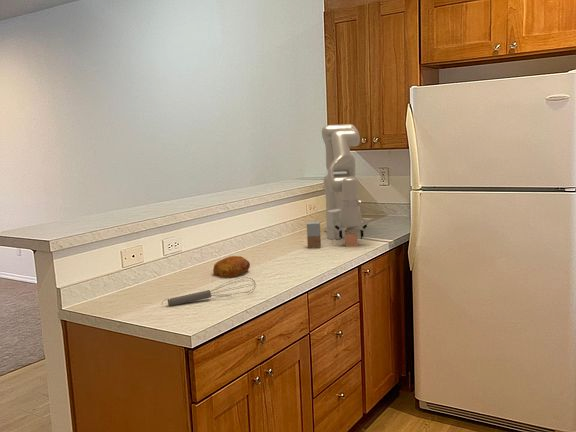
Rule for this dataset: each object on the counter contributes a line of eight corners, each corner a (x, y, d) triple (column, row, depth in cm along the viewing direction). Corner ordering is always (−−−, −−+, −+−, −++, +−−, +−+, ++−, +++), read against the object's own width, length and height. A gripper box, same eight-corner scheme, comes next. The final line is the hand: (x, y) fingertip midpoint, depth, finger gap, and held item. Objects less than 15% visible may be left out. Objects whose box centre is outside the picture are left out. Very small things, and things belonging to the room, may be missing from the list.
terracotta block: (345, 244, 285) (344, 232, 284) (357, 244, 284) (357, 232, 283) (345, 246, 279) (344, 234, 278) (357, 246, 278) (357, 234, 277)
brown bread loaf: (255, 275, 241) (256, 256, 240) (233, 279, 227) (234, 259, 227) (227, 271, 248) (228, 253, 248) (204, 275, 235) (205, 255, 234)
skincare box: (337, 236, 306) (336, 208, 303) (345, 237, 301) (345, 209, 299) (326, 238, 300) (325, 210, 298) (334, 240, 296) (333, 211, 294)
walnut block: (308, 245, 285) (308, 233, 284) (320, 245, 284) (320, 233, 283) (307, 248, 279) (307, 236, 278) (320, 248, 278) (319, 235, 277)
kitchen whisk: (160, 305, 199) (159, 287, 198) (253, 291, 211) (252, 274, 210) (163, 310, 193) (162, 291, 192) (259, 295, 205) (258, 278, 204)
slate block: (308, 233, 284) (307, 221, 283) (320, 233, 283) (319, 221, 282) (307, 236, 278) (306, 224, 277) (319, 235, 277) (319, 223, 276)
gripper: (368, 202, 281) (369, 236, 283) (332, 203, 283) (333, 237, 285) (368, 203, 273) (369, 239, 276) (331, 205, 275) (333, 240, 278)
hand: (351, 238), depth 280 cm, fingers open, 9 cm apart
